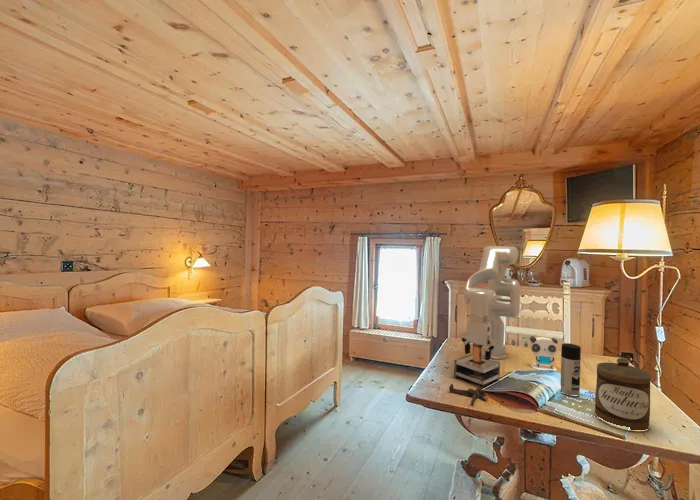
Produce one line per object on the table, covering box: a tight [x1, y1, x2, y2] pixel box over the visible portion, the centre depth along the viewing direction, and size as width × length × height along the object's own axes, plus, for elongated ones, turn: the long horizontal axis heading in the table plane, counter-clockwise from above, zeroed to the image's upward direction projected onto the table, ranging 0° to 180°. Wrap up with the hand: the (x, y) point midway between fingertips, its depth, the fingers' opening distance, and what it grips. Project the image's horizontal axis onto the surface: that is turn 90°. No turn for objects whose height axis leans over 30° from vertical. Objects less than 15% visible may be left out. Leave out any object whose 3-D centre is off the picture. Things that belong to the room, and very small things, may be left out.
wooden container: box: [594, 357, 652, 430], centre depth 118 cm, size 15×15×22 cm
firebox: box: [453, 353, 501, 386], centre depth 151 cm, size 14×14×8 cm
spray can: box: [560, 342, 582, 396], centre depth 139 cm, size 7×7×20 cm
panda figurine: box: [529, 335, 559, 372], centre depth 168 cm, size 12×11×15 cm
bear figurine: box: [448, 383, 489, 405], centre depth 135 cm, size 18×4×14 cm
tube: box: [472, 343, 484, 376], centre depth 151 cm, size 4×4×17 cm
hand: (477, 356), depth 151 cm, fingers open, 9 cm apart
